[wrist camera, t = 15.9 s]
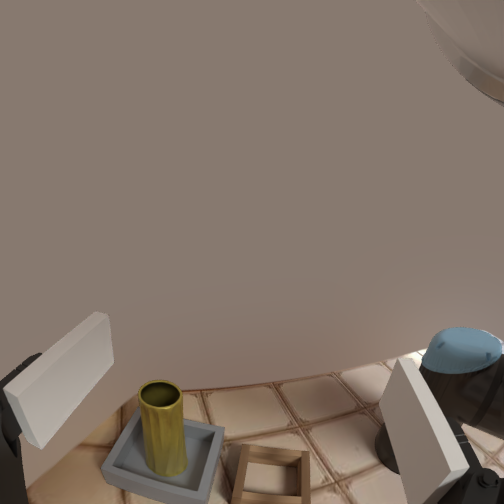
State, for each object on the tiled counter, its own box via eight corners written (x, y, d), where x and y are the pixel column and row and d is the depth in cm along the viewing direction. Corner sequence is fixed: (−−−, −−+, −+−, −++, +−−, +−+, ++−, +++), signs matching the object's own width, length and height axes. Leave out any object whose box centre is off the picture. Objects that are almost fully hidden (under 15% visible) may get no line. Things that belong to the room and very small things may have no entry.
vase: (139, 468, 33) (124, 400, 29) (155, 441, 39) (147, 372, 35) (180, 482, 32) (175, 417, 28) (193, 453, 38) (193, 385, 34)
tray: (223, 442, 42) (224, 427, 41) (205, 512, 28) (205, 500, 27) (140, 422, 43) (138, 406, 42) (106, 482, 30) (100, 468, 28)
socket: (304, 462, 39) (309, 451, 38) (305, 513, 29) (310, 504, 29) (240, 455, 40) (242, 443, 39) (230, 505, 30) (232, 496, 29)
